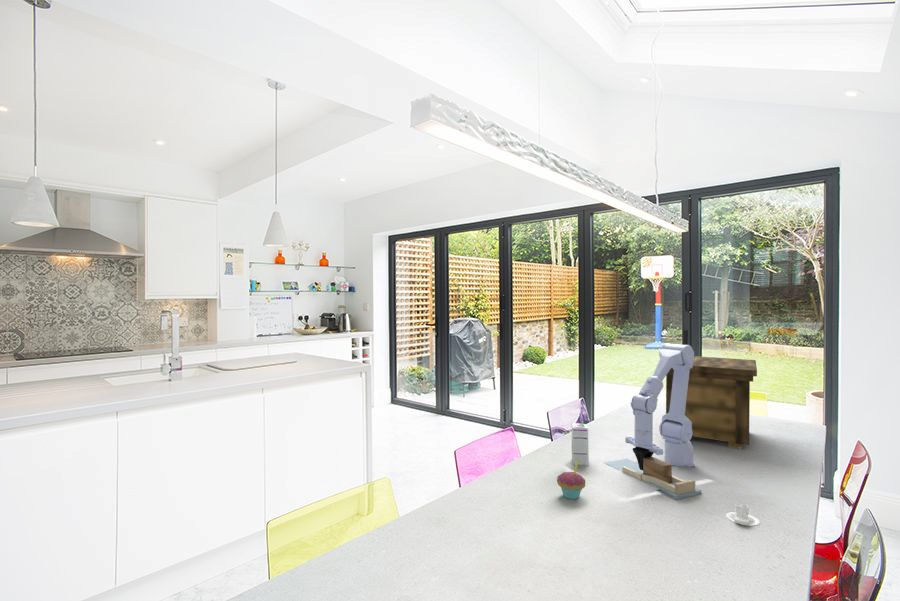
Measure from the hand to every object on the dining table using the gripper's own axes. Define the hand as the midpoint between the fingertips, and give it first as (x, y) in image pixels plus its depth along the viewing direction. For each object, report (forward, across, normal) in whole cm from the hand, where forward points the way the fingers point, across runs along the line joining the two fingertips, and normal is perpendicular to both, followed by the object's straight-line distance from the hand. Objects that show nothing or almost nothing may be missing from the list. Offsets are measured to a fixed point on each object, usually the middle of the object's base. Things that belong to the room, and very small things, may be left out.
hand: (643, 469), depth 160 cm
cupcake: (+2, +3, -33) cm, 33 cm away
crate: (+2, -23, +63) cm, 67 cm away
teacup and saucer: (+3, +32, -1) cm, 33 cm away
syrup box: (+2, -17, -13) cm, 22 cm away
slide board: (+2, +2, 0) cm, 3 cm away
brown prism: (+1, +6, 0) cm, 6 cm away
